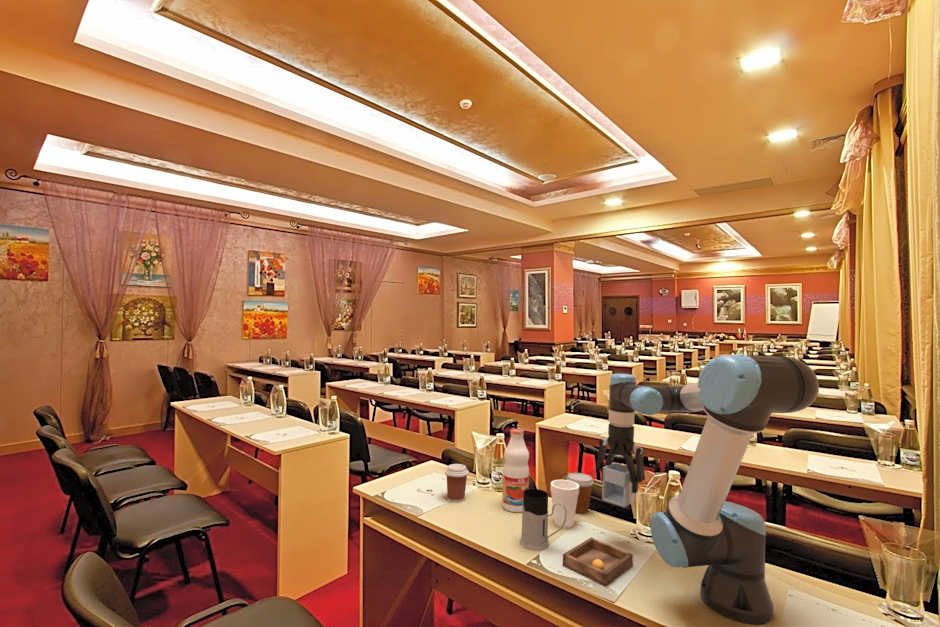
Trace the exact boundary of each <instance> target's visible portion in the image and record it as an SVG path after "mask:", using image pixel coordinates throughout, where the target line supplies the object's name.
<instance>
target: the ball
mask: <svg viewBox="0 0 940 627" xmlns="http://www.w3.org/2000/svg"><path fill="white" fill-rule="evenodd" d="M592 566H594V567H596V568H599V569H601V570H604V563H603V562H602V561H601V560H599V559H595V560H594V561H593V562H592Z"/></svg>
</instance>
